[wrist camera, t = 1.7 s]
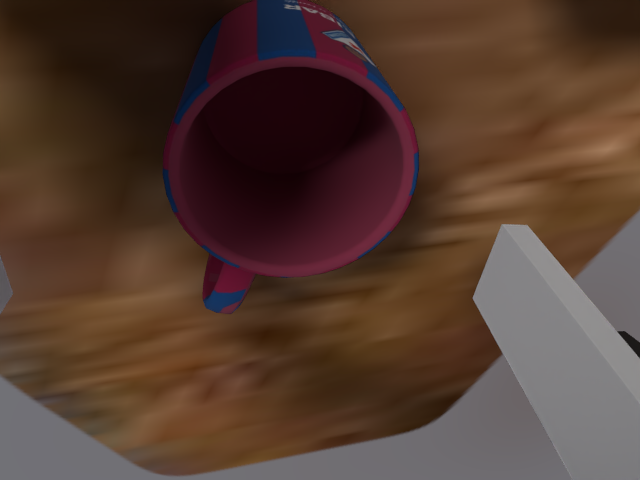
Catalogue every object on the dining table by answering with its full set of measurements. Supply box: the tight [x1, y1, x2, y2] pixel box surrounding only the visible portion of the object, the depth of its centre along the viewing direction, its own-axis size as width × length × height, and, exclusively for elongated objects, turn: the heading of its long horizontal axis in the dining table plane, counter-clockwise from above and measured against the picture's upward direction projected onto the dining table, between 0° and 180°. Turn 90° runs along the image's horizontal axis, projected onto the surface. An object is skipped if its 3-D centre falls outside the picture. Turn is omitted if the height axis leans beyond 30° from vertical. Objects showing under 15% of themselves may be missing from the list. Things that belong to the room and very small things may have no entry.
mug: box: [163, 0, 419, 314], centre depth 16 cm, size 7×10×7 cm
